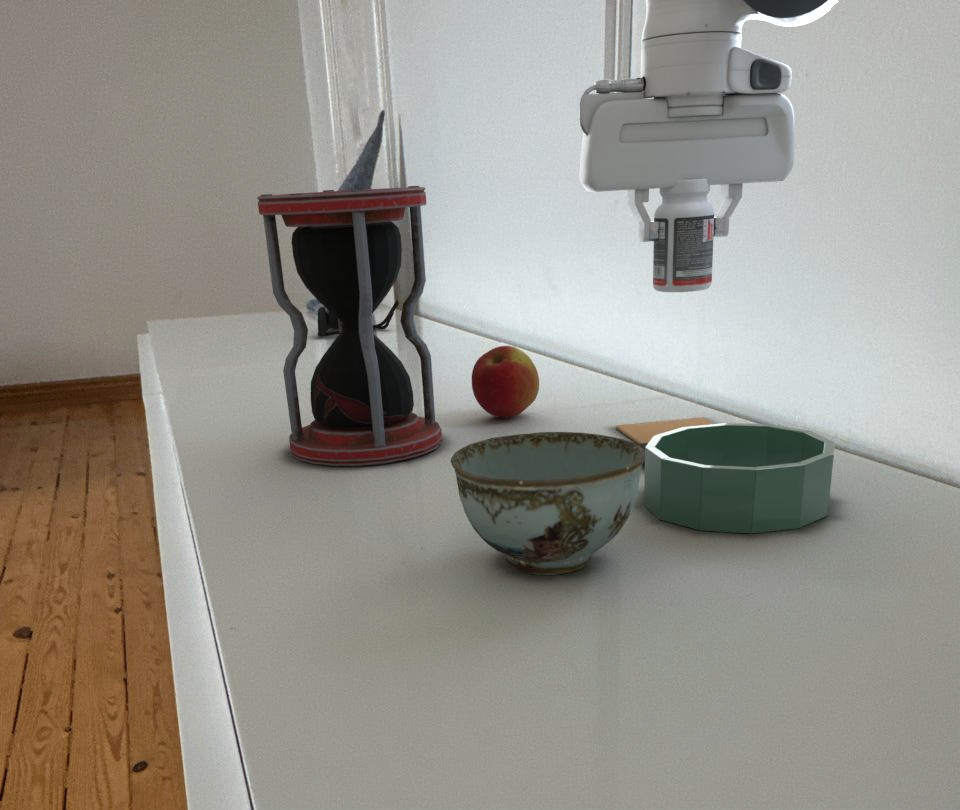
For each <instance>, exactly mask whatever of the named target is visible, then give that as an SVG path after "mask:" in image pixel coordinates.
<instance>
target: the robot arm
mask: <svg viewBox="0 0 960 810" xmlns="http://www.w3.org/2000/svg"><path fill="white" fill-rule="evenodd" d="M836 3H837V4H838V3H839V1H838V0H645V9H646V11H645V21H644V25H643V29H642V33H641V38H640V39H641V47H640V49H641V50H640V77H631V78H628V77H627V78H621V79H609V78H608V79H607V78H605V79H604V78H603V79H599V80H596V81H595V82H594V84H592V85H590V86H589V87H587V88H586V89H585V90H584V91H583V93H582V95H581V97H580V100H579V105H578V107H579V114H578V116H579V118H578V121H579V126H580V129H581V130H582V132H583V134H582V141H581V149H580V157H579V175H578V176H579V182H580V184H581V186H582V187H583V189H584V190H585V191H586V192H589V193H601V192H602V193H603V192H614V191H615V192H618V191H627V205H628V206H629V208H630V210H631V212H632V214H633V216H634V218H635V220H636V221H637V222H638V242H640V243H648V242H649V243H650V242H654V241H658V239H659V233H658V230H659V221H654V220H652V219H651V217H650V215H649V213H648V211H647V209H646V207H645V205H644V203H649V201H650V190H653V189H660V188H672V187H674V186H676V184H677V182H678V181H679V180H692V179H707V183H708V185H710V186H719V197H720V198H724V199H723V200H722V203H721V205H720V207H719V209H718V211H717V213H716V214H715V216H714V236H713V238H724V237H726V238H727V237H728V236H729V233H730V231H729V230H730V217H732V215H733V213H734V211H735V209H737V207H738V205H739V203H740V201H741V199H742V197H743V186H744V185H743V184H757V183H772V182H773V183H774V182H784V181H785V180H786V179H787V177H788V176H789V175H790V173H791V172H792V170H793V167H794V162H795V161H794V160H795V146H796V143H795V142H796V128H795V125H796V124H795V112H794V107H793V104H792V103H791V101H790V100H789V97H787V96H786V95H784V94H783V93H785V92H786V91H788V90H789V89H790V87H791V84H792V78H793V77H792V76H793V71H792V68H791V67H790V66H789V65H788V64H785V63H783V62H781V61H778V60H775V59H772V58H769V57H766V56H763V55H762V54H761V55H760V54H758V53H756V52H753V51H750V50H748V49H745V48H743V47H742V32H743V25H744V23H745V22H746V21H750V20H752V21H756V22H757V21H758V22H765V23H771V24H773V25H776V26H780V27H788V28H790V27H791V28H792V27H800V26H804V25H807V24H810V23H812V22H814V21H816V20H818V19H820V18H821V17H823V16H824V15H826V14H827V13H828V12H829V11H830V10H832V9H833V8H834V7H835V6H836V5H837V4H836ZM835 4H836V5H835ZM834 5H835V6H834ZM833 6H834V7H833ZM832 7H833V8H832ZM831 8H832V9H831ZM593 91H594V92H595V93H591V92H593Z"/></svg>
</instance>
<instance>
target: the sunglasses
mask: <svg viewBox="0 0 960 810" xmlns="http://www.w3.org/2000/svg"><path fill="white" fill-rule="evenodd" d="M399 305H400V304H399V300H398V299H396V300H395V301H394V303H393V305H392V306H391V308H390V309H389V311H388V313H387V315H386V316H385V318H384V319H383V320H382V321H381V322H379V323H376V324H373V330H374V329H377V330H386V329H387V328H388V326H389V325H390V322H392V321H391V320H392V319H393V316H394V314H395V311H396V310H397V308H398V306H399ZM331 329H332V330H331ZM328 330H331V331H328ZM339 334H340V333H339V324H338V318H337V317H335V316H334V315H333V314H332V313H331V312H330V311H329V310H328V311H327V309H326V307H324V306H319V308H318V310H317V337H328V336H329V337H330V336H336V335H337V336H338V335H339Z"/></svg>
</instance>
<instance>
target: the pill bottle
mask: <svg viewBox="0 0 960 810" xmlns="http://www.w3.org/2000/svg"><path fill="white" fill-rule="evenodd" d="M709 192H711V185H708V183H707V179H692V180H679V181H678V182H677V184H676V186H674V187H672V188H659V195H660V197H661V204H659V206H658V207H656V209H655V211H654V214H653V221H659V230H658V233H659V239H658V241H653V253H652V254H653V255H652V256H653V258H652V259H653V260H652V261H653V262H652V263H653V264H652V288H653V289H654V290H655V291H656V292H659V293H660V292H661V293H690V292H700V291H705V290H708V289H710V287H711V286H712V282H713V261H714V260H713V259H714V257H713V256H714V237H713V236H714V217H715V208H714V206H713V205H712V204H711V202H708V194H709Z"/></svg>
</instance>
